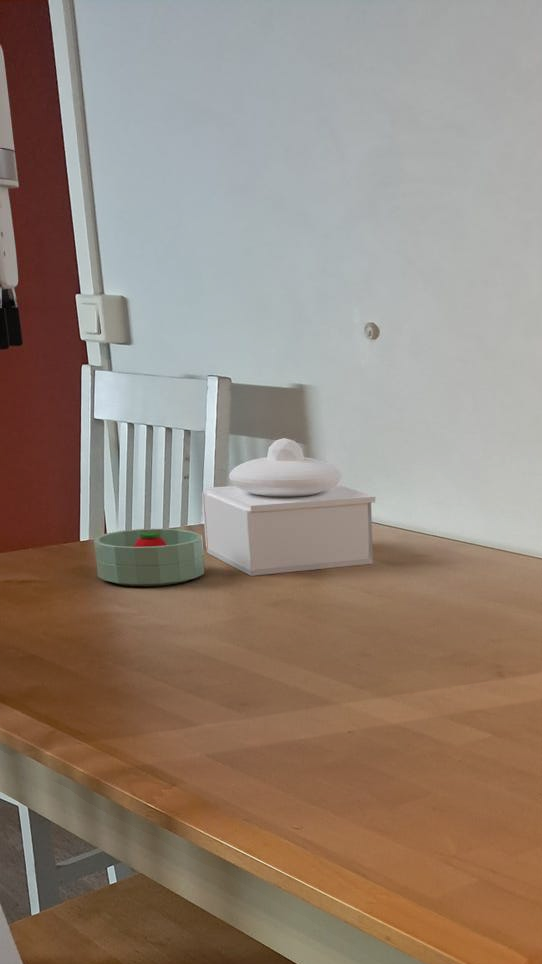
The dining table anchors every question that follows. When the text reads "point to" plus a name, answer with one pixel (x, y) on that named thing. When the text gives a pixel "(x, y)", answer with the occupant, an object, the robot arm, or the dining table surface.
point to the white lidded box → (287, 516)
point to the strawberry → (149, 540)
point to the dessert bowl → (149, 558)
